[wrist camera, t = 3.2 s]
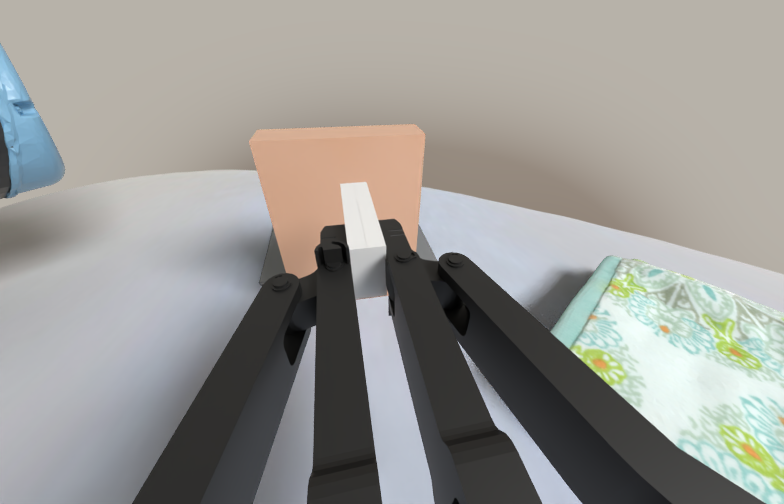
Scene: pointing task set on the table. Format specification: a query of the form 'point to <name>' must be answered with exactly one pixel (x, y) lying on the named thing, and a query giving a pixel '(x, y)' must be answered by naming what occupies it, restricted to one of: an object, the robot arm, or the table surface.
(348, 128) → the terracotta slab
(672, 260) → the table surface
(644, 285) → the towel
